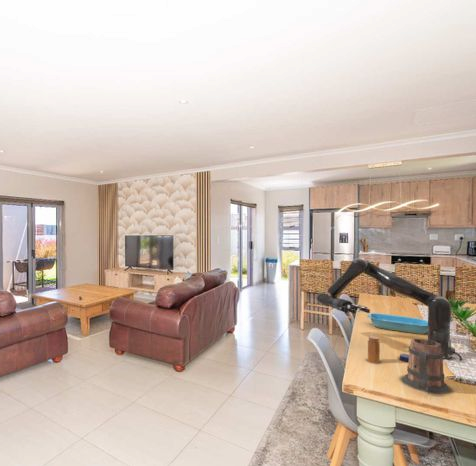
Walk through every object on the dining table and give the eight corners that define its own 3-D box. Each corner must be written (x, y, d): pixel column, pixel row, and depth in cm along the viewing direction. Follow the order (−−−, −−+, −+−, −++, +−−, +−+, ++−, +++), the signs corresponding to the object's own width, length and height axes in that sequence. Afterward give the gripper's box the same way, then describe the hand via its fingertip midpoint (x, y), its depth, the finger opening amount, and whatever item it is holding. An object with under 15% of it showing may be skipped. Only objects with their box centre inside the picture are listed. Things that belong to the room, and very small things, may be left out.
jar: (381, 361, 180) (381, 338, 180) (377, 363, 177) (377, 339, 177) (370, 358, 184) (370, 335, 184) (365, 360, 181) (366, 337, 181)
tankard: (404, 372, 166) (404, 333, 166) (451, 384, 154) (452, 341, 153) (396, 389, 150) (396, 345, 150) (448, 403, 138) (449, 355, 137)
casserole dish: (430, 328, 235) (430, 318, 235) (436, 337, 217) (436, 326, 217) (366, 320, 256) (366, 311, 256) (366, 327, 238) (366, 318, 238)
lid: (409, 362, 178) (409, 358, 178) (397, 358, 184) (397, 354, 184) (416, 361, 180) (416, 357, 180) (404, 357, 185) (404, 353, 185)
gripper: (353, 310, 209) (373, 317, 193) (331, 311, 208) (350, 318, 192) (353, 298, 209) (373, 304, 193) (331, 299, 208) (350, 305, 192)
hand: (362, 311), depth 193 cm, fingers open, 8 cm apart
